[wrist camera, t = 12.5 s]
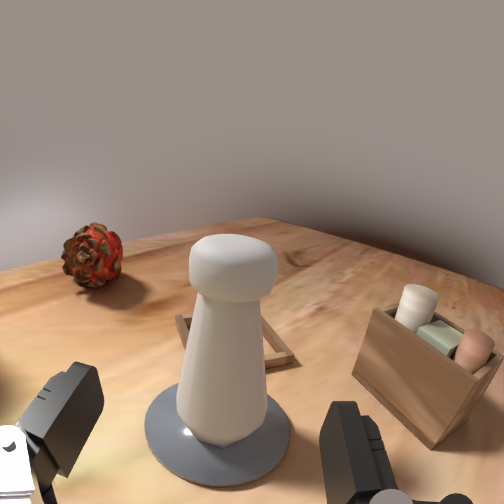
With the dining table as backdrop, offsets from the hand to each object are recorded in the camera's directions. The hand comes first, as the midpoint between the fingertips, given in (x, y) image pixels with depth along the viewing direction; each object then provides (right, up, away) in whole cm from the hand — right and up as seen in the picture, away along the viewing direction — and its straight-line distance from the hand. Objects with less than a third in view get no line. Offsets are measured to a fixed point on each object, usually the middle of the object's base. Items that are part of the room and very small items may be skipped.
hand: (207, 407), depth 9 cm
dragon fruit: (-20, +1, +29) cm, 35 cm away
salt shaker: (-1, -7, +9) cm, 12 cm away
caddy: (+16, -8, +13) cm, 22 cm away
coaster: (-1, -7, +10) cm, 12 cm away
